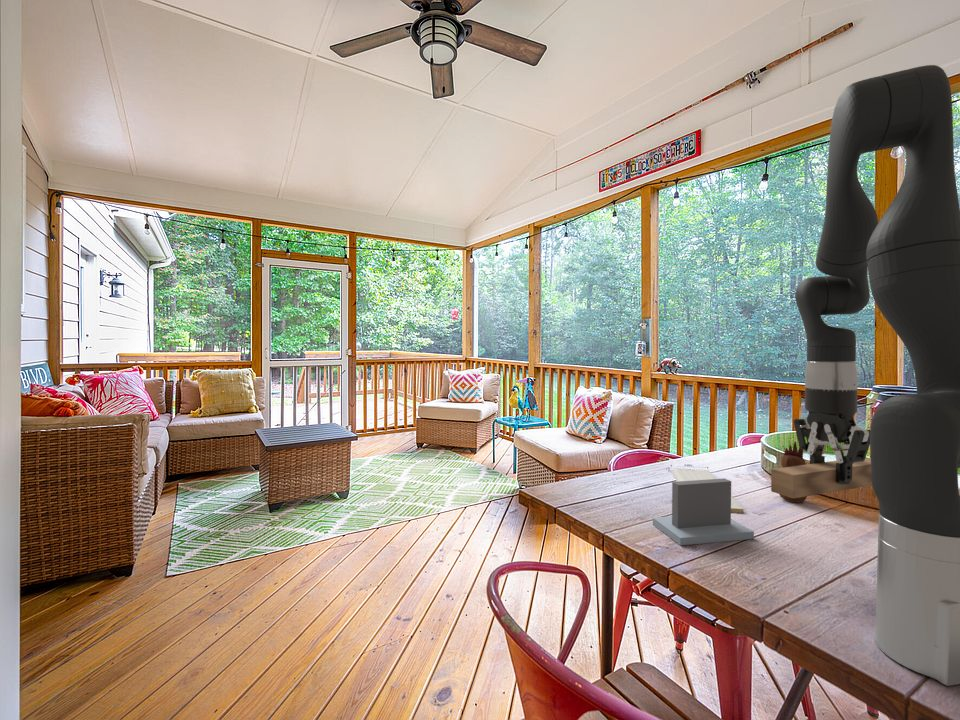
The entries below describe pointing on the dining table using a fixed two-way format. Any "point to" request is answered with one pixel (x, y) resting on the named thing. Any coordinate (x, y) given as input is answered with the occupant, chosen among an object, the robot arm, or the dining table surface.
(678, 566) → the dining table surface
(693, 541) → the fulcrum board
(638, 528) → the dining table surface
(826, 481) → the walnut bar
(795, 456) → the wooden figurine
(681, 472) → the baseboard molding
